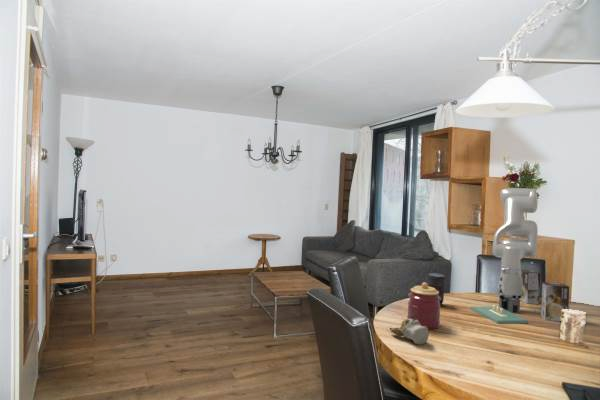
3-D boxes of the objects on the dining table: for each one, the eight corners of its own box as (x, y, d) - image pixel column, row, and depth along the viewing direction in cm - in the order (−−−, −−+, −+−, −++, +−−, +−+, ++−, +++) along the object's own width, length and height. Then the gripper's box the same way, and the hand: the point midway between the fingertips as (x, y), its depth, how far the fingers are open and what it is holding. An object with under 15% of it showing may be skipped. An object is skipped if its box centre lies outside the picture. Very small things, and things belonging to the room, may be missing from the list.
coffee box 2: (563, 318, 175) (564, 283, 174) (568, 322, 168) (570, 286, 168) (540, 315, 177) (541, 281, 177) (544, 320, 171) (546, 284, 171)
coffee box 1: (539, 304, 197) (541, 273, 197) (526, 303, 197) (528, 272, 197) (529, 299, 206) (530, 269, 206) (517, 298, 206) (518, 269, 206)
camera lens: (426, 305, 186) (427, 275, 186) (425, 301, 194) (427, 272, 194) (444, 308, 184) (445, 277, 184) (442, 303, 192) (444, 273, 192)
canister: (403, 326, 156) (405, 283, 156) (410, 317, 168) (412, 277, 167) (437, 332, 150) (439, 287, 150) (441, 323, 162) (443, 281, 161)
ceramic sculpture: (413, 323, 133) (388, 313, 147) (413, 348, 133) (387, 335, 147) (437, 320, 137) (410, 311, 151) (437, 345, 137) (410, 333, 151)
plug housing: (498, 306, 190) (499, 294, 189) (507, 307, 190) (507, 294, 190) (510, 312, 181) (511, 299, 180) (519, 312, 181) (520, 299, 181)
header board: (471, 309, 184) (471, 300, 184) (498, 309, 186) (498, 300, 186) (497, 323, 164) (497, 313, 164) (527, 323, 166) (527, 313, 166)
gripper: (499, 272, 180) (497, 311, 181) (532, 273, 182) (530, 311, 183) (489, 269, 188) (488, 306, 188) (521, 269, 190) (519, 306, 190)
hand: (509, 308), depth 185 cm, fingers closed on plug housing, 4 cm apart
